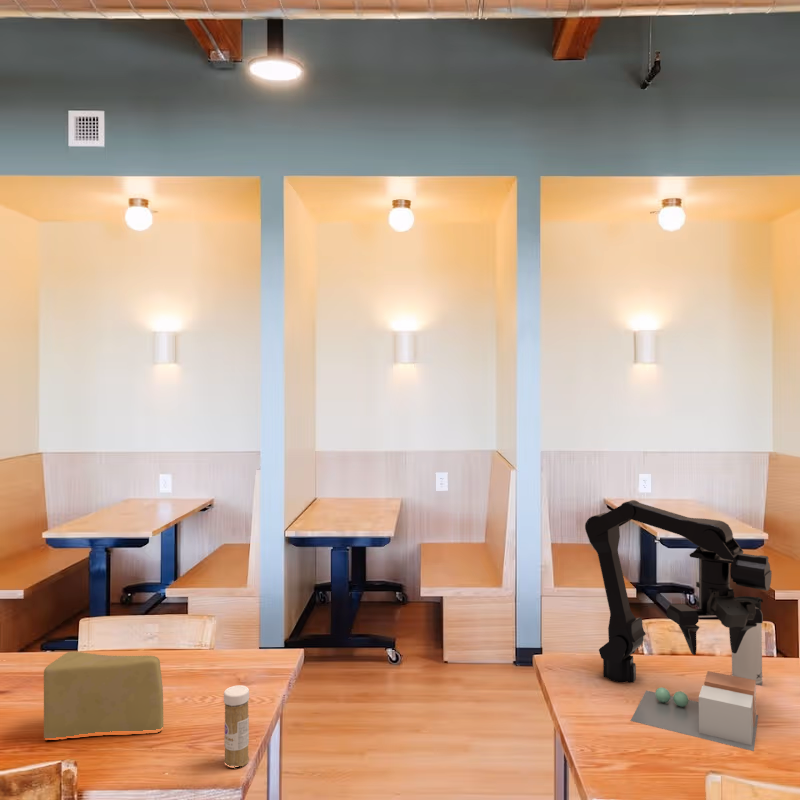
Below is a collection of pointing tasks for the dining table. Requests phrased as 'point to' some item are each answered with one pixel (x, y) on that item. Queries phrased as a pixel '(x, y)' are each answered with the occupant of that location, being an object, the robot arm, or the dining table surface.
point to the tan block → (733, 685)
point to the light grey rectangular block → (726, 714)
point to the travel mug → (749, 649)
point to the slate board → (679, 719)
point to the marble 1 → (662, 695)
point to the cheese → (102, 694)
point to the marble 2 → (680, 699)
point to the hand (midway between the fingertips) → (713, 653)
